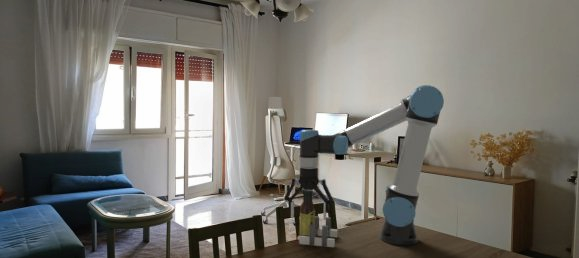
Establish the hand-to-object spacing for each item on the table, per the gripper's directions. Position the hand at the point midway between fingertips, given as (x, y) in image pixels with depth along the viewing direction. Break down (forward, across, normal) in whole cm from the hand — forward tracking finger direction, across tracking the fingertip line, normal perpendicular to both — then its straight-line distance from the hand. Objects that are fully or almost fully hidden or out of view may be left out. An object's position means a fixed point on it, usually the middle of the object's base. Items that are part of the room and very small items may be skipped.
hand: (308, 218), depth 164 cm
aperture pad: (+9, 0, 0) cm, 9 cm away
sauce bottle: (+8, +1, 0) cm, 9 cm away
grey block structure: (+9, -4, 0) cm, 10 cm away
